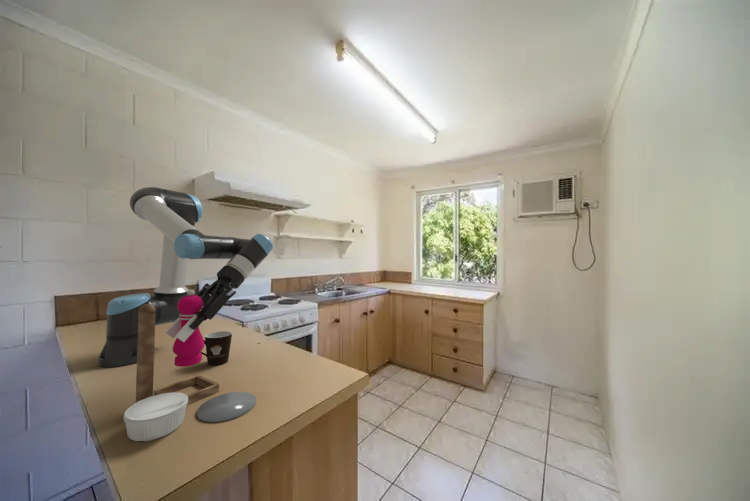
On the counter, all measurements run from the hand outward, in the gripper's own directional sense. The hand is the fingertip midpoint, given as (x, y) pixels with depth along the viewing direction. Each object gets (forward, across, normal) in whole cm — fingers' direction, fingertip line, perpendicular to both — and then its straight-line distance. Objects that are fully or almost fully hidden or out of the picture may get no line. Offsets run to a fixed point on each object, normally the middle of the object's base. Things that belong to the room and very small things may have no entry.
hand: (174, 337), depth 71 cm
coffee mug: (-2, +17, -27) cm, 32 cm away
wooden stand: (+11, 0, -12) cm, 17 cm away
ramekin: (+17, -10, -7) cm, 21 cm away
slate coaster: (+7, -15, -16) cm, 23 cm away
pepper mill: (+3, 0, -8) cm, 9 cm away
